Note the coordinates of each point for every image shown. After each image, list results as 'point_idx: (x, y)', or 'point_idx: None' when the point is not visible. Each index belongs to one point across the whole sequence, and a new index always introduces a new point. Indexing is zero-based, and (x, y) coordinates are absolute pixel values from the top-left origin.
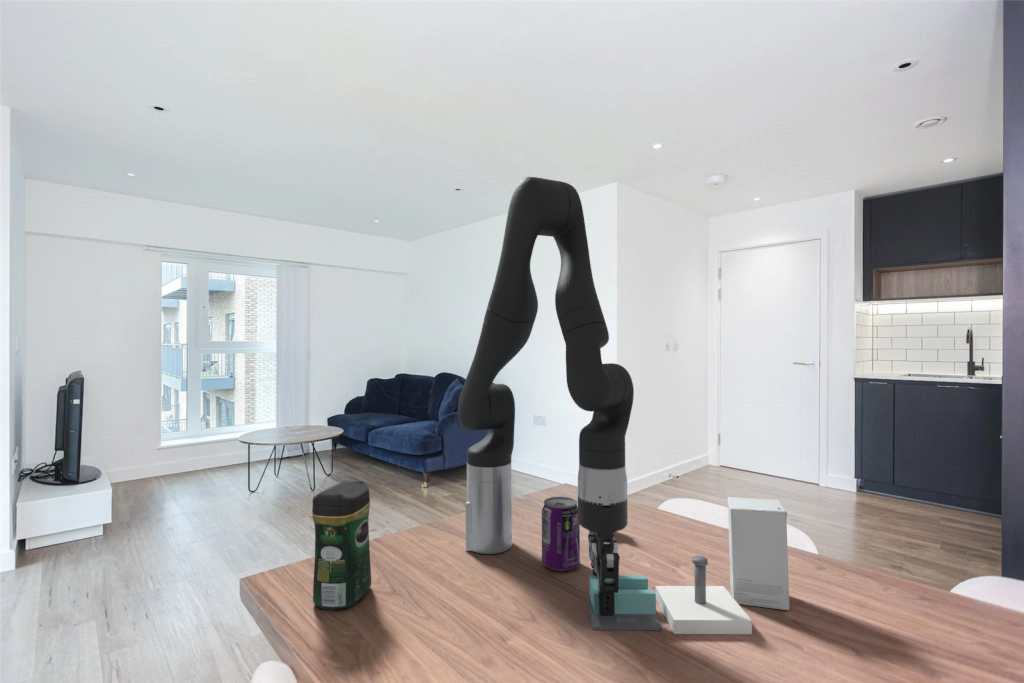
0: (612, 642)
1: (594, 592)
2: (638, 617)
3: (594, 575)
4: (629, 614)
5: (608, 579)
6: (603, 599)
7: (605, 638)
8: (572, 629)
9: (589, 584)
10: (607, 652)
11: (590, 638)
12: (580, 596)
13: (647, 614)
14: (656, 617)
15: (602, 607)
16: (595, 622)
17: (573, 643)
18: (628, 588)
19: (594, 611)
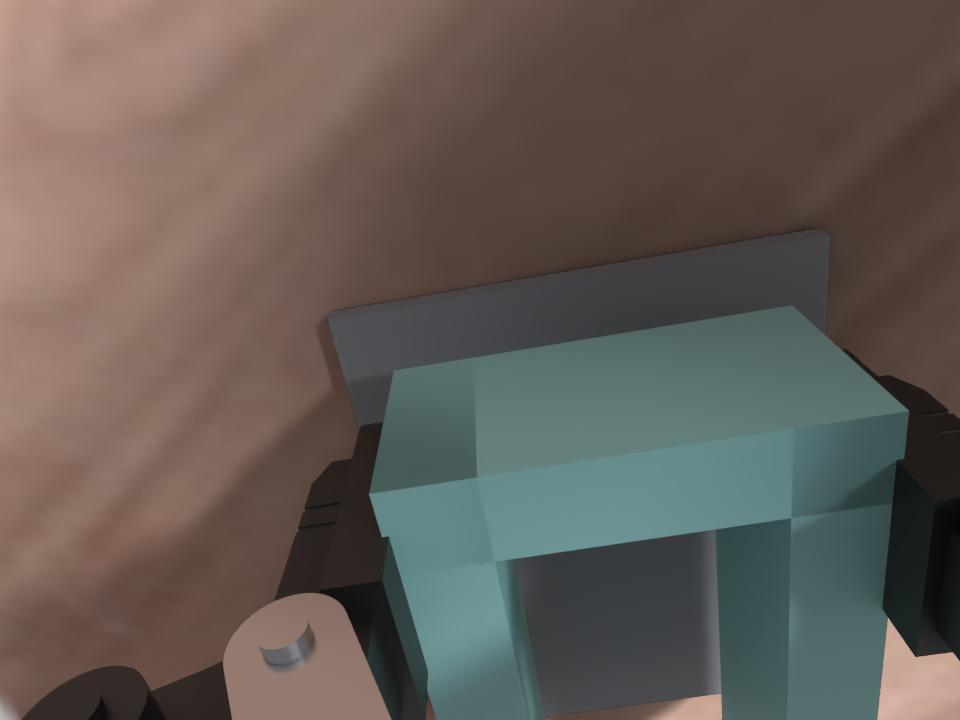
0: (203, 454)
1: (391, 494)
2: (542, 623)
3: (898, 474)
4: (573, 575)
5: (786, 617)
6: (285, 574)
7: (238, 407)
8: (284, 130)
9: (833, 355)
10: (61, 423)
11: (196, 298)
12: (919, 169)
13: (591, 671)
14: (561, 712)
15: (334, 494)
16: (400, 342)
17: (62, 157)
18: (747, 693)
19: (403, 376)
